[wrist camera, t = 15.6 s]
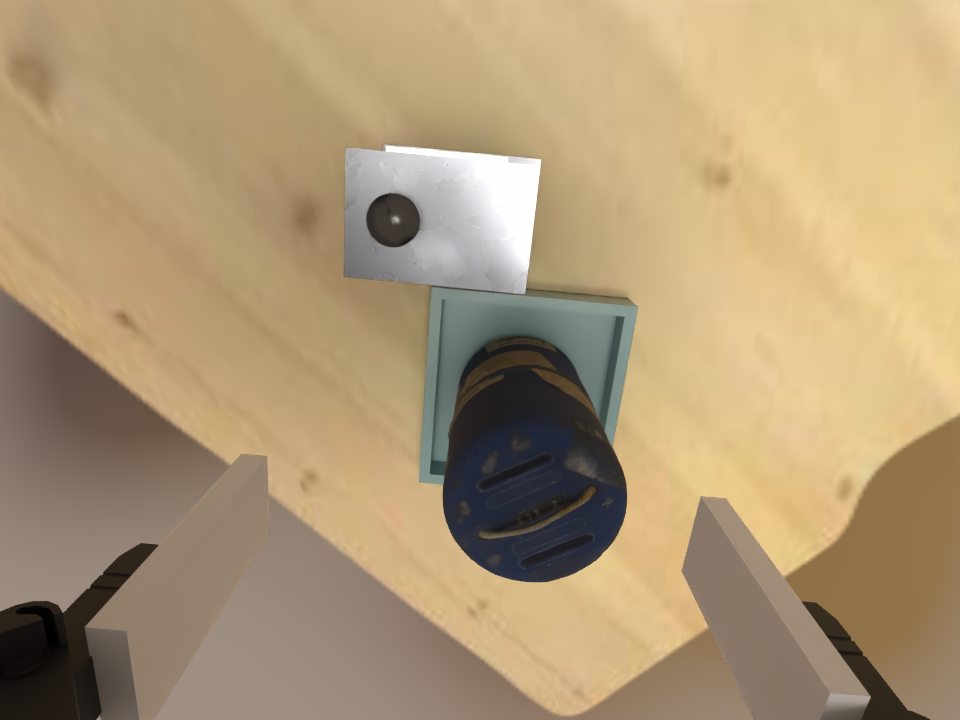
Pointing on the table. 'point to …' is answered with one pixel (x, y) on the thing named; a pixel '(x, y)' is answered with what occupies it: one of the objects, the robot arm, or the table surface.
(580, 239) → the table surface
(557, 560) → the canister
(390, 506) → the table surface
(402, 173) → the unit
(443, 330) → the tray
